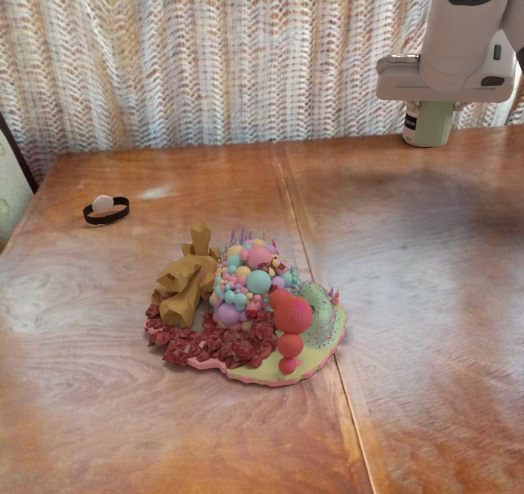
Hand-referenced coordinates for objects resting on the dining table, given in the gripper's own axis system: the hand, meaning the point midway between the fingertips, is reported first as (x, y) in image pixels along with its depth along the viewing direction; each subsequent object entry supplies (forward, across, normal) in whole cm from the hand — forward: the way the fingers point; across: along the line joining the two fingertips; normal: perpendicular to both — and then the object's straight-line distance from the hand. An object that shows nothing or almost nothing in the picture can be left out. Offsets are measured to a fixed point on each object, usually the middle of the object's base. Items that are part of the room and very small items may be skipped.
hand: (436, 106), depth 89 cm
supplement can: (+19, 0, +3) cm, 19 cm away
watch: (-8, -51, -25) cm, 57 cm away
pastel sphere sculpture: (-24, -23, -40) cm, 52 cm away
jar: (+3, 0, -4) cm, 5 cm away
